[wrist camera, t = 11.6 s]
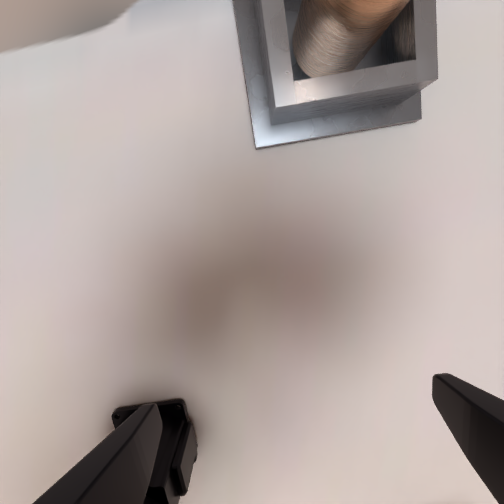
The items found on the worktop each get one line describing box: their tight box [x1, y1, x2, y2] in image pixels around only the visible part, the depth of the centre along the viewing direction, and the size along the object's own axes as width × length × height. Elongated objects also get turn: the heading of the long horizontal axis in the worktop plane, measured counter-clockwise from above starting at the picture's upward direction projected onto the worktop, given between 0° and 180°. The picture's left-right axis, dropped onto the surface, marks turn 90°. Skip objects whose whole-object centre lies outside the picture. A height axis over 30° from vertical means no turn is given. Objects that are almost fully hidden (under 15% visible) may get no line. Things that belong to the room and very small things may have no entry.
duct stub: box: [233, 0, 438, 149], centre depth 16 cm, size 12×12×4 cm
